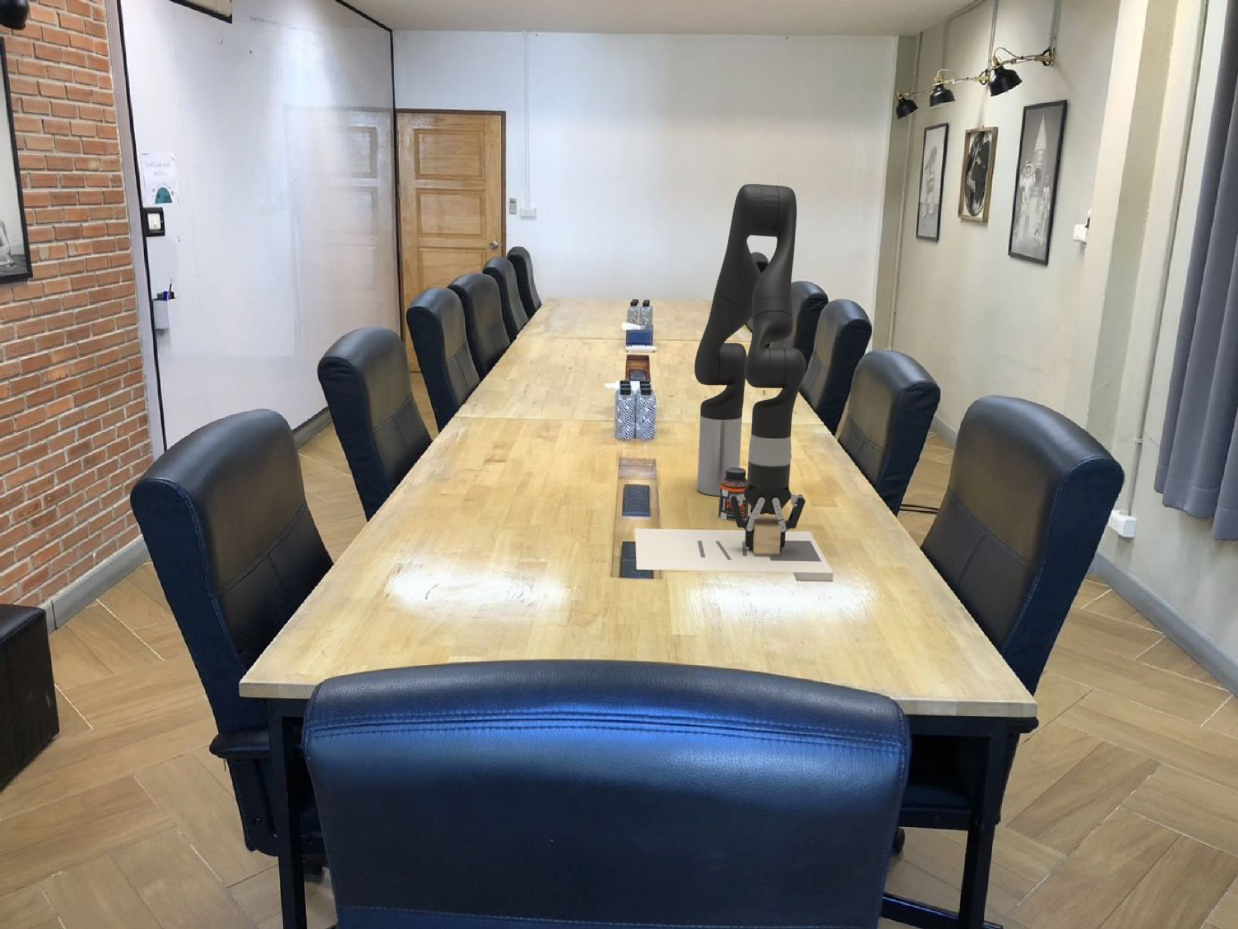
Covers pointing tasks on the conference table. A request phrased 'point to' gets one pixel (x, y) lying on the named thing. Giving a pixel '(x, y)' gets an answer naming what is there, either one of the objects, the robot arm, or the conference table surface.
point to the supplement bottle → (729, 485)
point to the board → (727, 553)
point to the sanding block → (766, 537)
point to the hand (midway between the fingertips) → (764, 548)
